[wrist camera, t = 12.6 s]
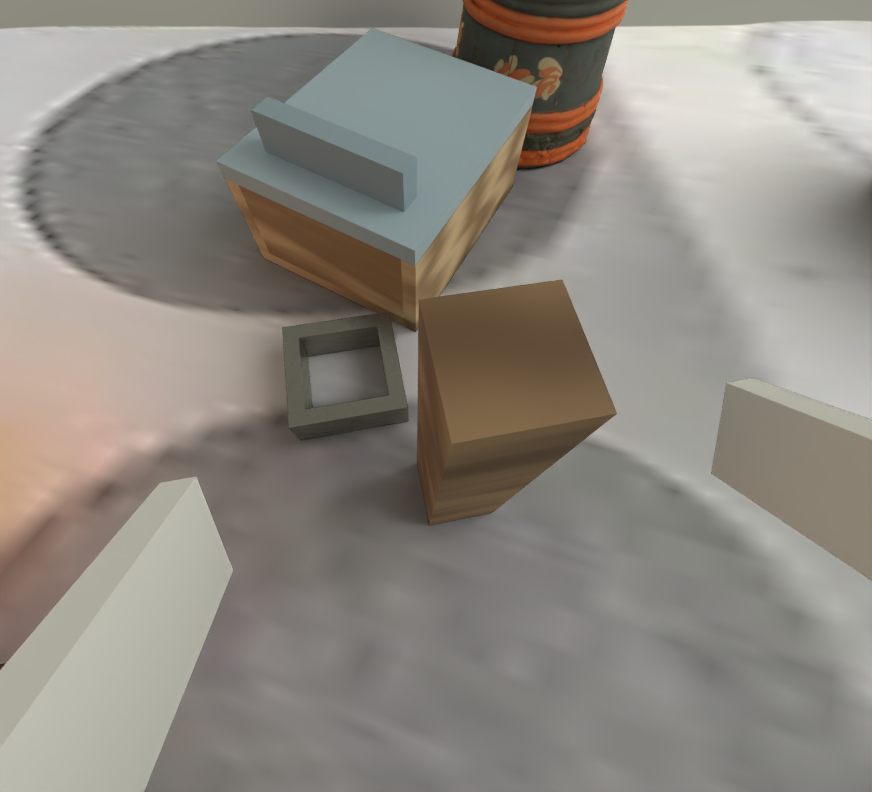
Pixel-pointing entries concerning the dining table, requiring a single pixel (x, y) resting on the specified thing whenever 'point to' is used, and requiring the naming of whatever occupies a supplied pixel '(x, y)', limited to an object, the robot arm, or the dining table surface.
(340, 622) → the dining table surface
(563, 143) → the beer stein
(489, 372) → the pin
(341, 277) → the toolbox
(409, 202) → the lid
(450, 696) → the dining table surface
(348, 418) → the socket
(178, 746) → the dining table surface
